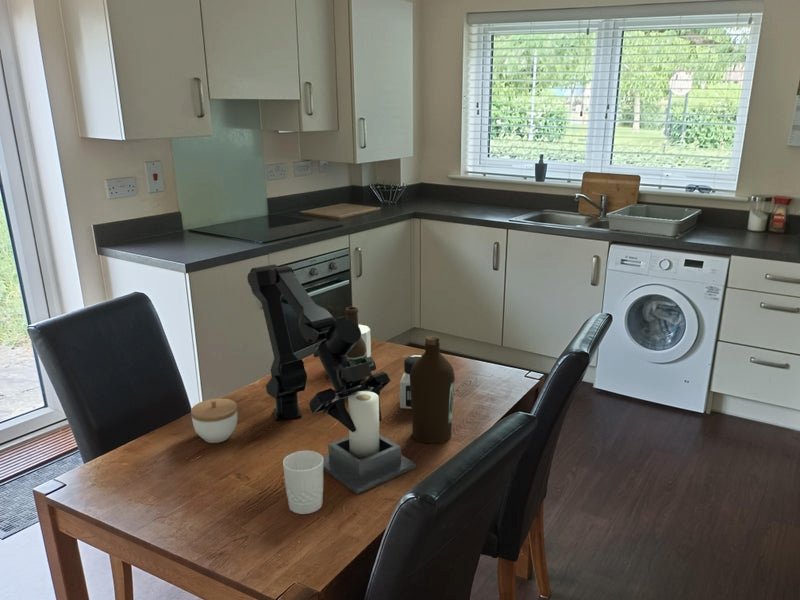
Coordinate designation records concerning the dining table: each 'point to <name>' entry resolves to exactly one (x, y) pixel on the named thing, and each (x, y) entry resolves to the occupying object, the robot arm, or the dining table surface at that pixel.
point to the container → (407, 382)
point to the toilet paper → (366, 338)
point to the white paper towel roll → (364, 424)
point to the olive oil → (432, 395)
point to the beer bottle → (360, 347)
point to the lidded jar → (214, 419)
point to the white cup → (304, 481)
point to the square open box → (365, 464)
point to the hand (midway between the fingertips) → (367, 426)
